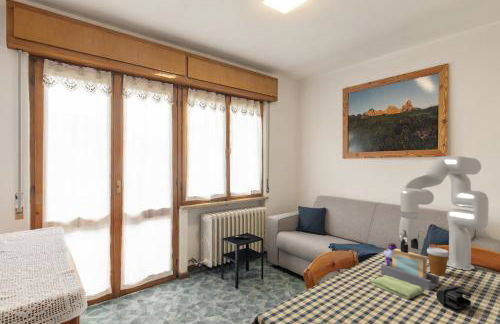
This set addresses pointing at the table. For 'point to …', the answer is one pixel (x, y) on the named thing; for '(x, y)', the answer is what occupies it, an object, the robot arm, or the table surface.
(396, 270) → the picture stand
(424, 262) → the wooden picture frame
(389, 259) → the potion bottle
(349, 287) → the table surface
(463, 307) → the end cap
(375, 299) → the table surface
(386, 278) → the washcloth
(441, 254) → the disposable coffee cup
